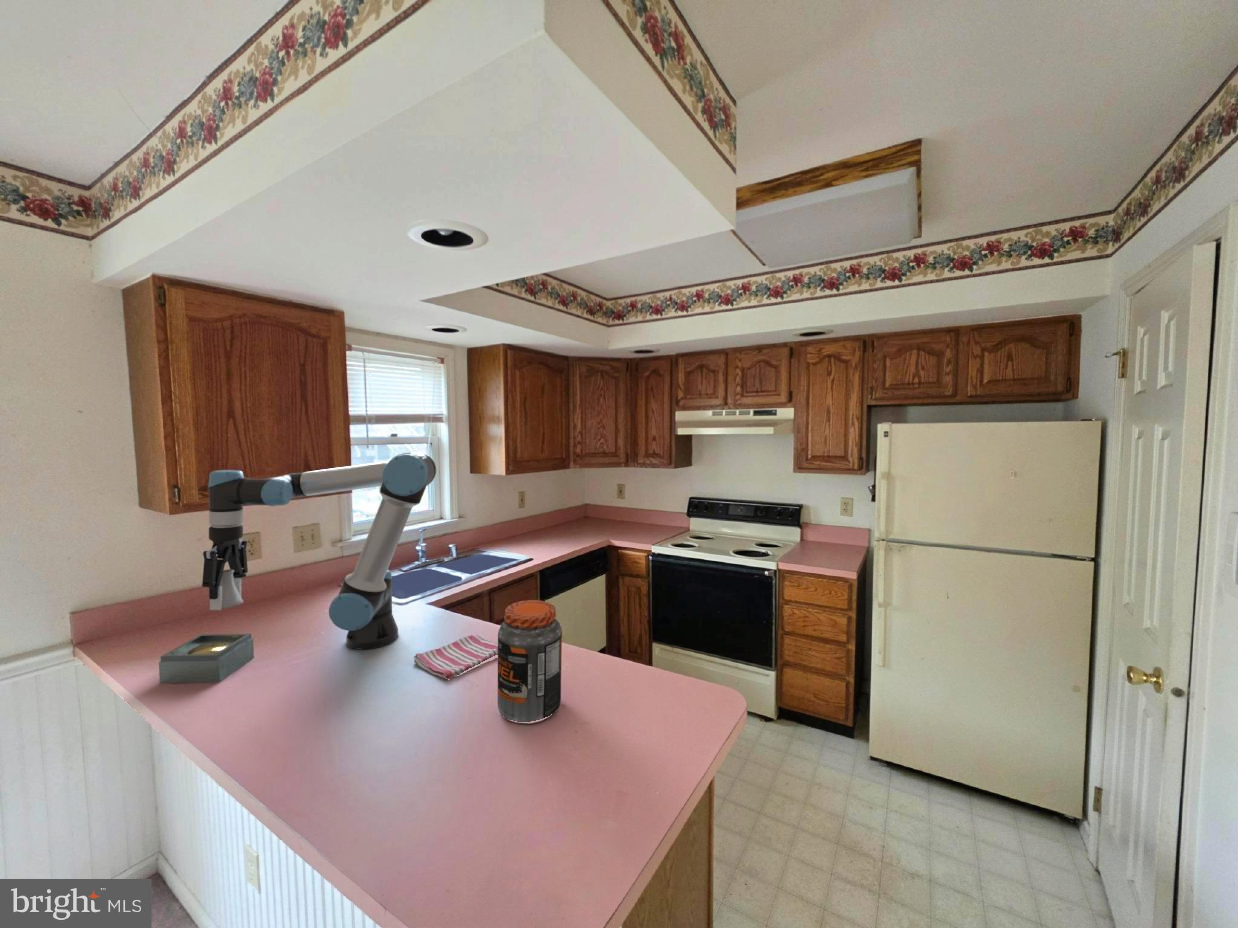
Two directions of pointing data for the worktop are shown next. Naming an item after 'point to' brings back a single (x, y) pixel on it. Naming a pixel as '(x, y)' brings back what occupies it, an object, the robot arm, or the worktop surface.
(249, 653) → the grey boxy piece
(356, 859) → the worktop surface
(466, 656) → the dish towel
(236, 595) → the flask
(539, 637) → the supplement tub
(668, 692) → the worktop surface
